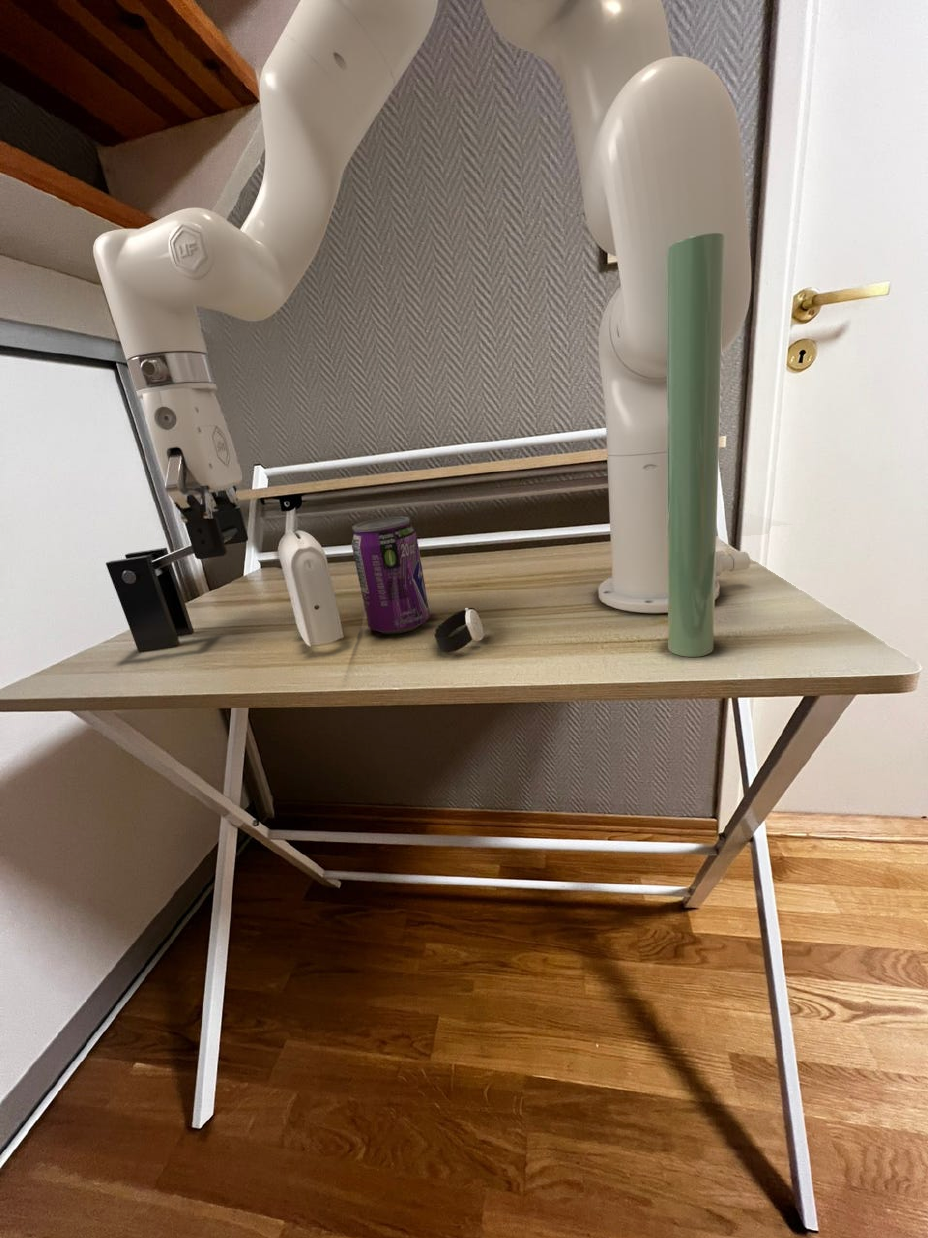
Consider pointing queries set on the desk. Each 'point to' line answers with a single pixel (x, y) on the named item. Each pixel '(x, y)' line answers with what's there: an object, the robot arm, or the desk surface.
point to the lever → (186, 551)
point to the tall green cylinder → (693, 437)
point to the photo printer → (310, 588)
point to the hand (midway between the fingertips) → (223, 548)
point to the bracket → (150, 600)
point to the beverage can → (390, 574)
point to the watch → (462, 637)
